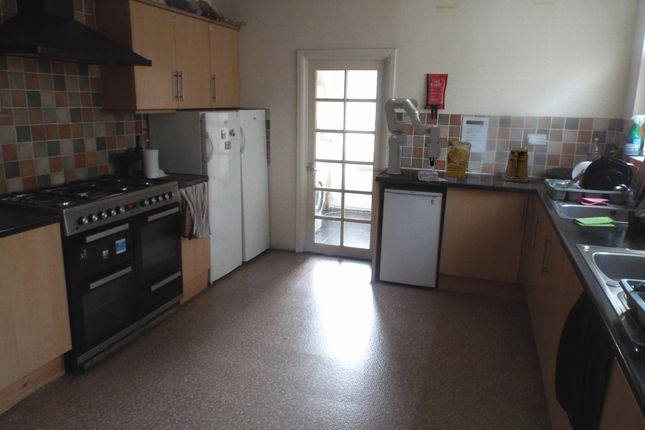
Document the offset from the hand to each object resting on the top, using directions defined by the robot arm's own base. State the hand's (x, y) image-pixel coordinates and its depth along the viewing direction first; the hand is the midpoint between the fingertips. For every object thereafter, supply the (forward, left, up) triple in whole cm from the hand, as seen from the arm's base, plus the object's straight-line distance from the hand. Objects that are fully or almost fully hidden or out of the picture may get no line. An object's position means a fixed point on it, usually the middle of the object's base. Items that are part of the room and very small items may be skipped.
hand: (432, 166), depth 368 cm
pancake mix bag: (-8, +26, -10) cm, 29 cm away
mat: (+3, 0, -10) cm, 11 cm away
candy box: (-5, -1, -7) cm, 9 cm away
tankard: (+17, +63, -10) cm, 66 cm away
